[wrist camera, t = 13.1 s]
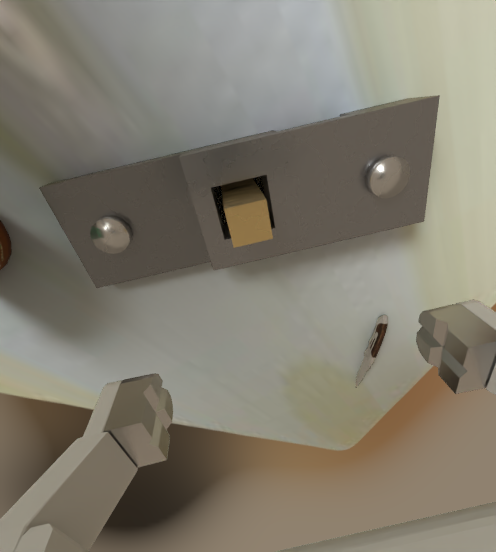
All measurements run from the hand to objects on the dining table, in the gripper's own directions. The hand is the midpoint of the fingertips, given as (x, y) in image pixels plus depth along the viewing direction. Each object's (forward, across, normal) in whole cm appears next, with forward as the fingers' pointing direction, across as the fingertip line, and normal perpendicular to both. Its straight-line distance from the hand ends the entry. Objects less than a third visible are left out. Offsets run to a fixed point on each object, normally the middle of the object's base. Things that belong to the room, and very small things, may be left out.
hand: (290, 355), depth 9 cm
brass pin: (+21, 0, 0) cm, 21 cm away
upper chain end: (+21, -6, 0) cm, 22 cm away
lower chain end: (+21, +6, 0) cm, 22 cm away
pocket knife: (+21, -13, +26) cm, 36 cm away
